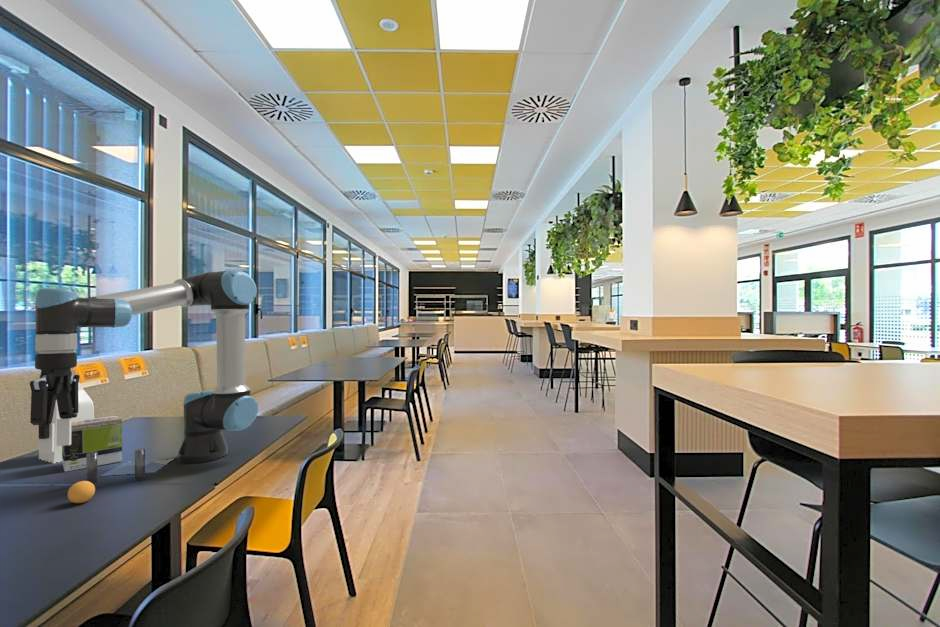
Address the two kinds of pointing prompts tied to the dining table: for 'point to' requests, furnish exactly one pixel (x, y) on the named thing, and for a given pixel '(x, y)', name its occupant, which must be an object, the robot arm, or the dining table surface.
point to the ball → (81, 492)
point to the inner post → (139, 464)
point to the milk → (83, 413)
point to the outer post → (92, 467)
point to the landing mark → (133, 469)
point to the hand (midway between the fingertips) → (55, 448)
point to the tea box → (93, 442)
